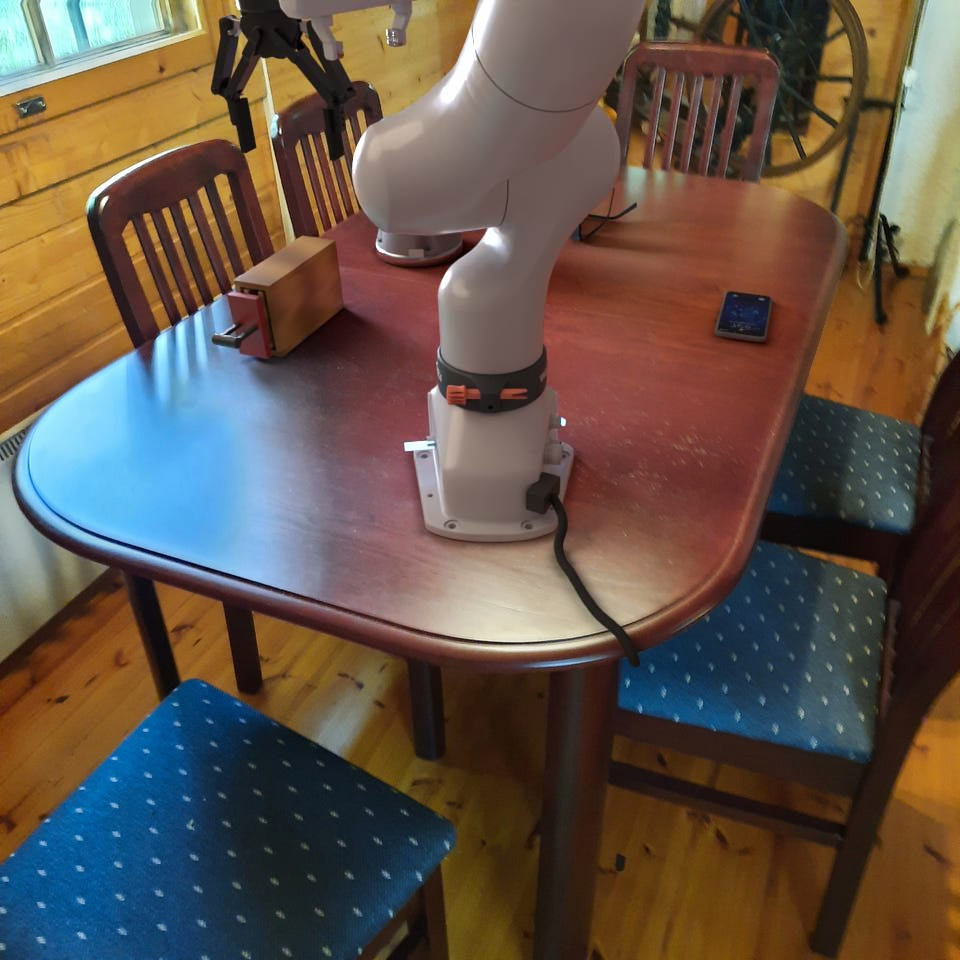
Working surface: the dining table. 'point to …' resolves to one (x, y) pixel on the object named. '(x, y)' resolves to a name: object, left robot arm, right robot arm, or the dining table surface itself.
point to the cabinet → (297, 289)
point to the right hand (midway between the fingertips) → (366, 52)
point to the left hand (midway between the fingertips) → (292, 154)
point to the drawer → (248, 324)
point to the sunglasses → (577, 232)
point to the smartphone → (744, 316)
